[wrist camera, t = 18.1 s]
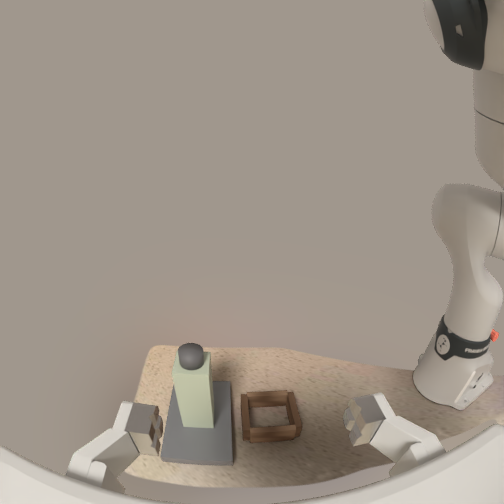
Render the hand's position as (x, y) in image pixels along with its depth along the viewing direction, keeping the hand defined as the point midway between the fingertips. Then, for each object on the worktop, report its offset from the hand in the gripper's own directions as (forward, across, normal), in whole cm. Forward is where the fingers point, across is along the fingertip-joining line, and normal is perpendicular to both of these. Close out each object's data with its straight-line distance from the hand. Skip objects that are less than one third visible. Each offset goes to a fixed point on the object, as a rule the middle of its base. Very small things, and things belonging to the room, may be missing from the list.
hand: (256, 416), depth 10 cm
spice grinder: (+20, +6, +26) cm, 34 cm away
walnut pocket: (+20, -5, +28) cm, 35 cm away
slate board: (+20, +6, +28) cm, 35 cm away
